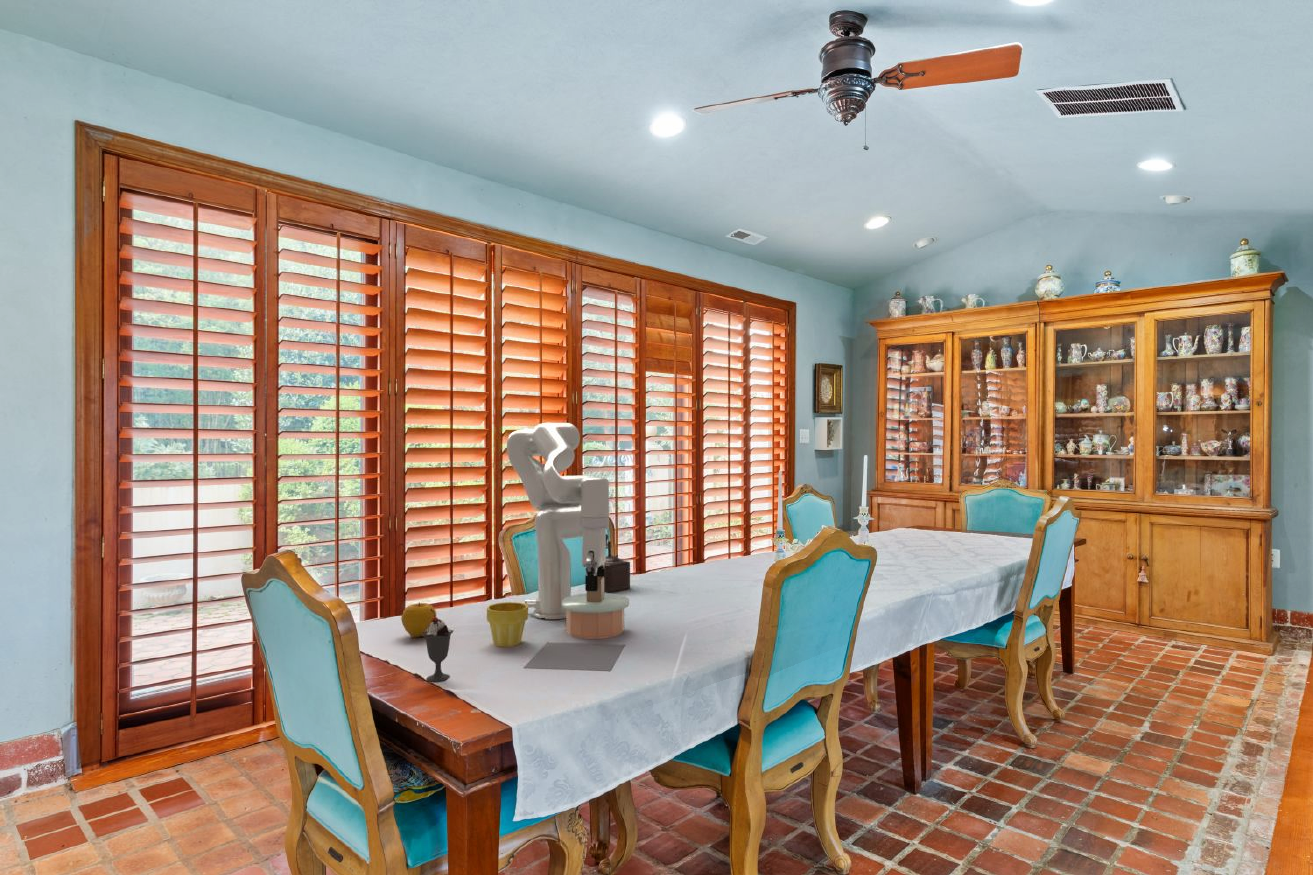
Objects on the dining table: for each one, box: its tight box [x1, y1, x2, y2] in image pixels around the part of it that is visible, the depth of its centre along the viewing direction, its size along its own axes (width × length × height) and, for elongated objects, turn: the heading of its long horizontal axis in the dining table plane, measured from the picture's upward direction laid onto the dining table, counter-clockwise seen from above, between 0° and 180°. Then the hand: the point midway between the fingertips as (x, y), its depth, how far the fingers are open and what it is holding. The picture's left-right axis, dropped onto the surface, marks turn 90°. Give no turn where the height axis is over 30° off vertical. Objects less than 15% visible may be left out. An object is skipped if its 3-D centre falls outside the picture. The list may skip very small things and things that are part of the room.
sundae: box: [422, 609, 454, 683], centre depth 156 cm, size 7×7×15 cm
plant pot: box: [486, 601, 529, 648], centre depth 181 cm, size 10×10×10 cm
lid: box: [562, 577, 630, 613], centre depth 192 cm, size 18×18×7 cm
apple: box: [400, 602, 437, 638], centre depth 189 cm, size 9×9×9 cm
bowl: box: [565, 608, 625, 640], centre depth 192 cm, size 15×15×8 cm
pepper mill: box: [602, 533, 631, 594], centre depth 249 cm, size 16×11×18 cm
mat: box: [523, 641, 626, 672], centre depth 170 cm, size 20×20×1 cm
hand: (595, 586), depth 192 cm, fingers open, 9 cm apart
